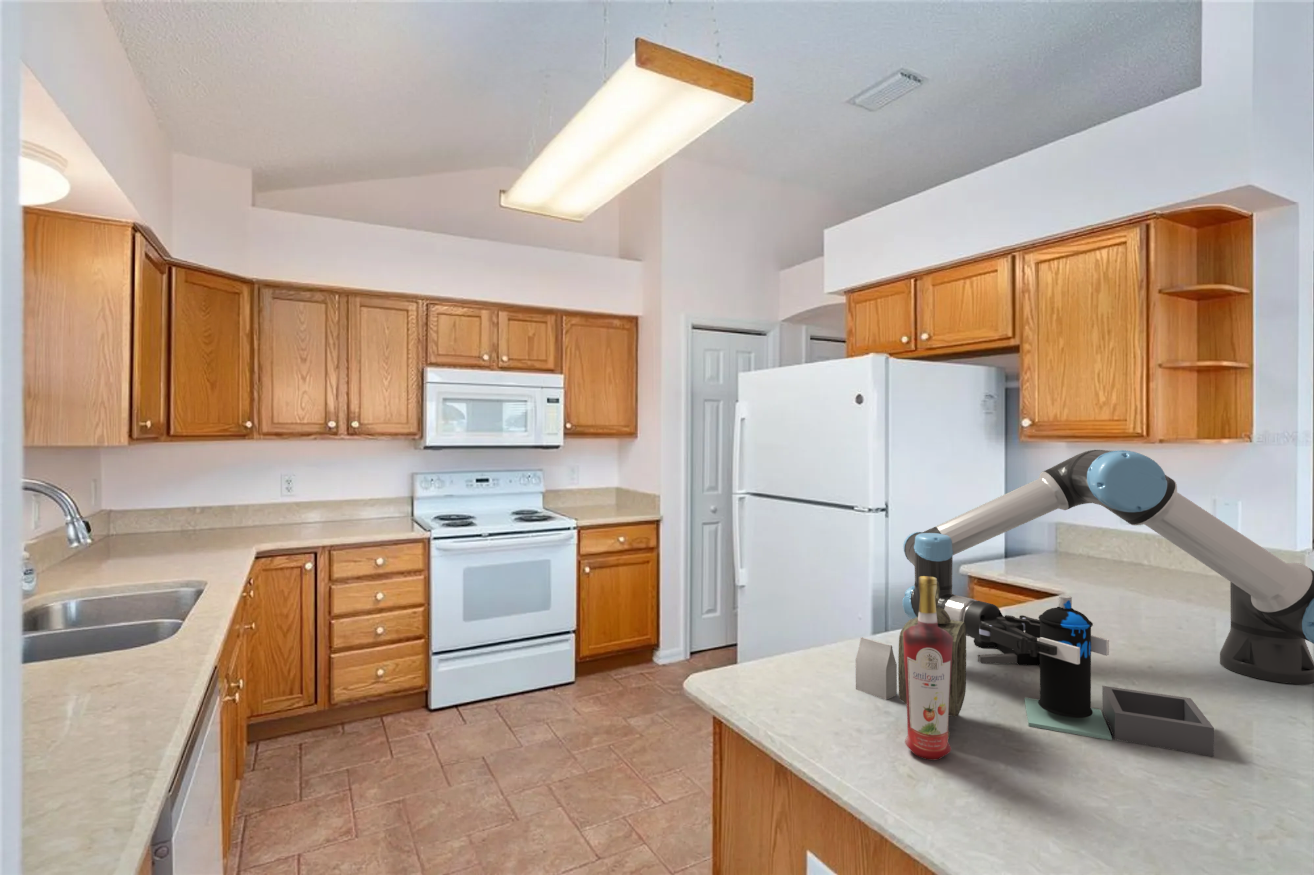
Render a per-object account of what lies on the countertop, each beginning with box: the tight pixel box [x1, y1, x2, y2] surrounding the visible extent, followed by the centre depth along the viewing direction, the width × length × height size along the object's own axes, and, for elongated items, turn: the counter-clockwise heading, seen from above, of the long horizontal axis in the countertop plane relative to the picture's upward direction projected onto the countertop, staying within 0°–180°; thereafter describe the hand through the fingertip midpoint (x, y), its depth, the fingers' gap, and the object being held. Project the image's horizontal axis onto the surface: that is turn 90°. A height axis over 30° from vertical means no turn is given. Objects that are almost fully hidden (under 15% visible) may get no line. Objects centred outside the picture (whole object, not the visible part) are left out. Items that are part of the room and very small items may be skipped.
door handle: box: [973, 638, 1040, 666], centre depth 148 cm, size 3×20×16 cm
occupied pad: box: [1024, 697, 1113, 741], centre depth 116 cm, size 12×12×1 cm
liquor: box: [903, 576, 953, 761], centre depth 104 cm, size 7×7×28 cm
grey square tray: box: [1101, 685, 1215, 758], centre depth 111 cm, size 13×13×4 cm
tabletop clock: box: [897, 581, 967, 739], centre depth 115 cm, size 14×9×25 cm, turn 148°
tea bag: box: [855, 637, 898, 701], centre depth 129 cm, size 4×7×10 cm, turn 38°
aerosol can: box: [1037, 594, 1094, 718], centre depth 116 cm, size 8×8×20 cm
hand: (1093, 651), depth 112 cm, fingers closed on aerosol can, 8 cm apart
